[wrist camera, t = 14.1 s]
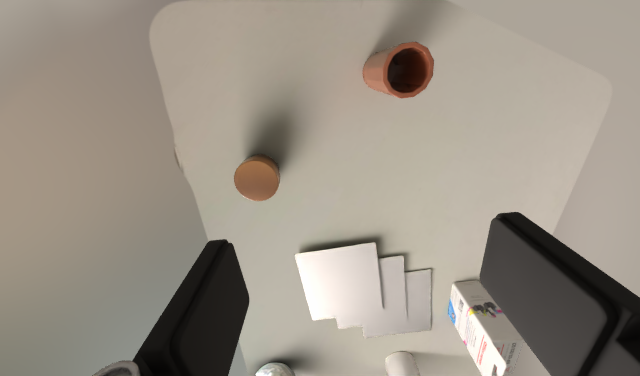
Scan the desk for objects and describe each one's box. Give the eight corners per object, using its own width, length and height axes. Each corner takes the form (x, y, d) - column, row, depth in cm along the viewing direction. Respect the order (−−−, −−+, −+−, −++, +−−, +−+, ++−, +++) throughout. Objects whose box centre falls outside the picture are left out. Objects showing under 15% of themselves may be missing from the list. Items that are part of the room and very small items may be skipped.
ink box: (472, 311, 50) (528, 397, 37) (447, 313, 50) (493, 400, 37) (479, 279, 47) (543, 362, 33) (451, 281, 47) (505, 364, 34)
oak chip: (232, 158, 35) (228, 163, 33) (276, 154, 34) (273, 158, 33) (243, 197, 37) (240, 203, 35) (283, 193, 37) (282, 198, 35)
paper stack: (431, 231, 42) (433, 233, 41) (430, 330, 52) (431, 333, 52) (294, 251, 44) (294, 254, 43) (319, 343, 54) (320, 347, 53)
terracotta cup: (361, 54, 31) (382, 45, 21) (397, 49, 31) (435, 39, 21) (363, 92, 33) (383, 100, 23) (397, 87, 33) (431, 94, 23)
